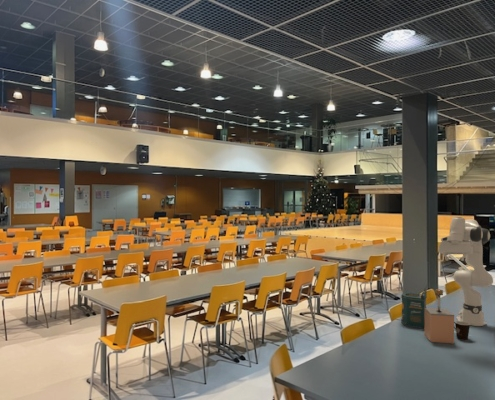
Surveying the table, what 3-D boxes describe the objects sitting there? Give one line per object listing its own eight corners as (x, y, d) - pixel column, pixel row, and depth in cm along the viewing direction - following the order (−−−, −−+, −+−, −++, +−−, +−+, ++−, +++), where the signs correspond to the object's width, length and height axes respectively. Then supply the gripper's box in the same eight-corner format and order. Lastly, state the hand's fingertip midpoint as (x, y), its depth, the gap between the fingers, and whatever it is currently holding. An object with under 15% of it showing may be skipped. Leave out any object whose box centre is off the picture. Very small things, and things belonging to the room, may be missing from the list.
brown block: (424, 334, 259) (424, 307, 260) (446, 336, 257) (446, 309, 257) (430, 341, 245) (430, 313, 246) (453, 343, 243) (454, 314, 243)
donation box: (424, 328, 273) (424, 288, 273) (400, 324, 281) (400, 286, 281) (426, 322, 287) (426, 285, 287) (403, 319, 295) (403, 282, 295)
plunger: (428, 313, 257) (428, 287, 257) (444, 314, 255) (444, 288, 256) (433, 318, 247) (433, 291, 248) (449, 319, 245) (449, 292, 246)
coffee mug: (471, 341, 248) (471, 325, 248) (457, 339, 249) (457, 324, 250) (465, 335, 259) (465, 320, 259) (451, 334, 261) (451, 319, 261)
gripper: (475, 241, 243) (473, 262, 239) (442, 241, 259) (440, 261, 255) (471, 238, 240) (469, 259, 236) (438, 238, 256) (436, 258, 252)
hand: (454, 260), depth 245 cm, fingers open, 8 cm apart
